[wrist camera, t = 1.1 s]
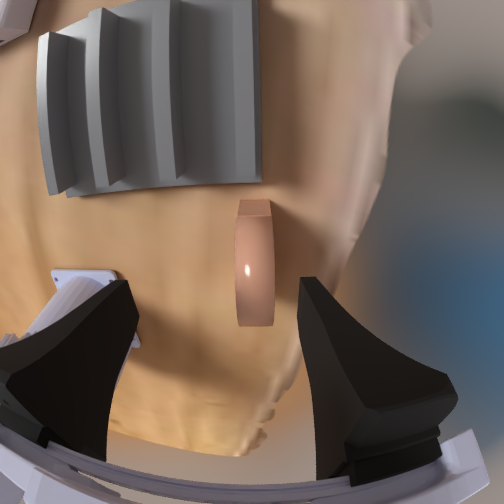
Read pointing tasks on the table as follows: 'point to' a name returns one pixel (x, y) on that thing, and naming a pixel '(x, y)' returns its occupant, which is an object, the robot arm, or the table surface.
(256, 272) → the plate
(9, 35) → the charger
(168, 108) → the dish rack
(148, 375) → the table surface
